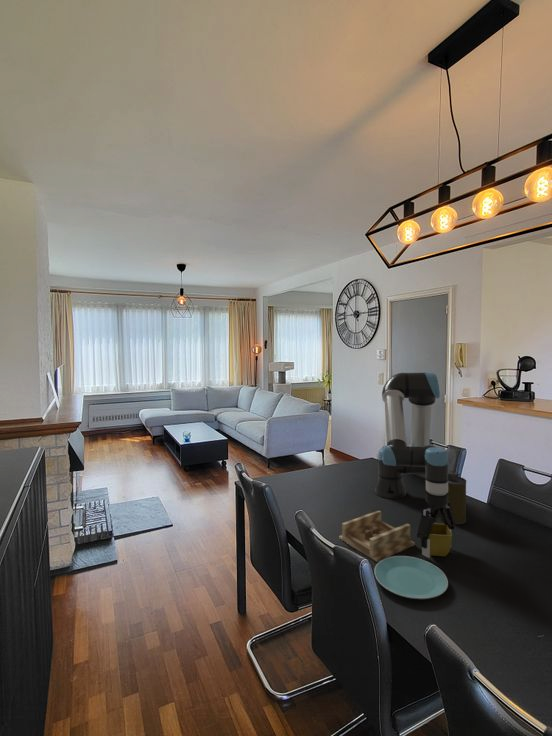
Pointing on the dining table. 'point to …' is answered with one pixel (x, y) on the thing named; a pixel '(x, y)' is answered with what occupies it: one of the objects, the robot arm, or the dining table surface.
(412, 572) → the plate
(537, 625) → the dining table surface
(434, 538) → the flower pot
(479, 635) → the dining table surface
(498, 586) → the dining table surface
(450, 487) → the canister
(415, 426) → the robot arm
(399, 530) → the peg frame
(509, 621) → the dining table surface
